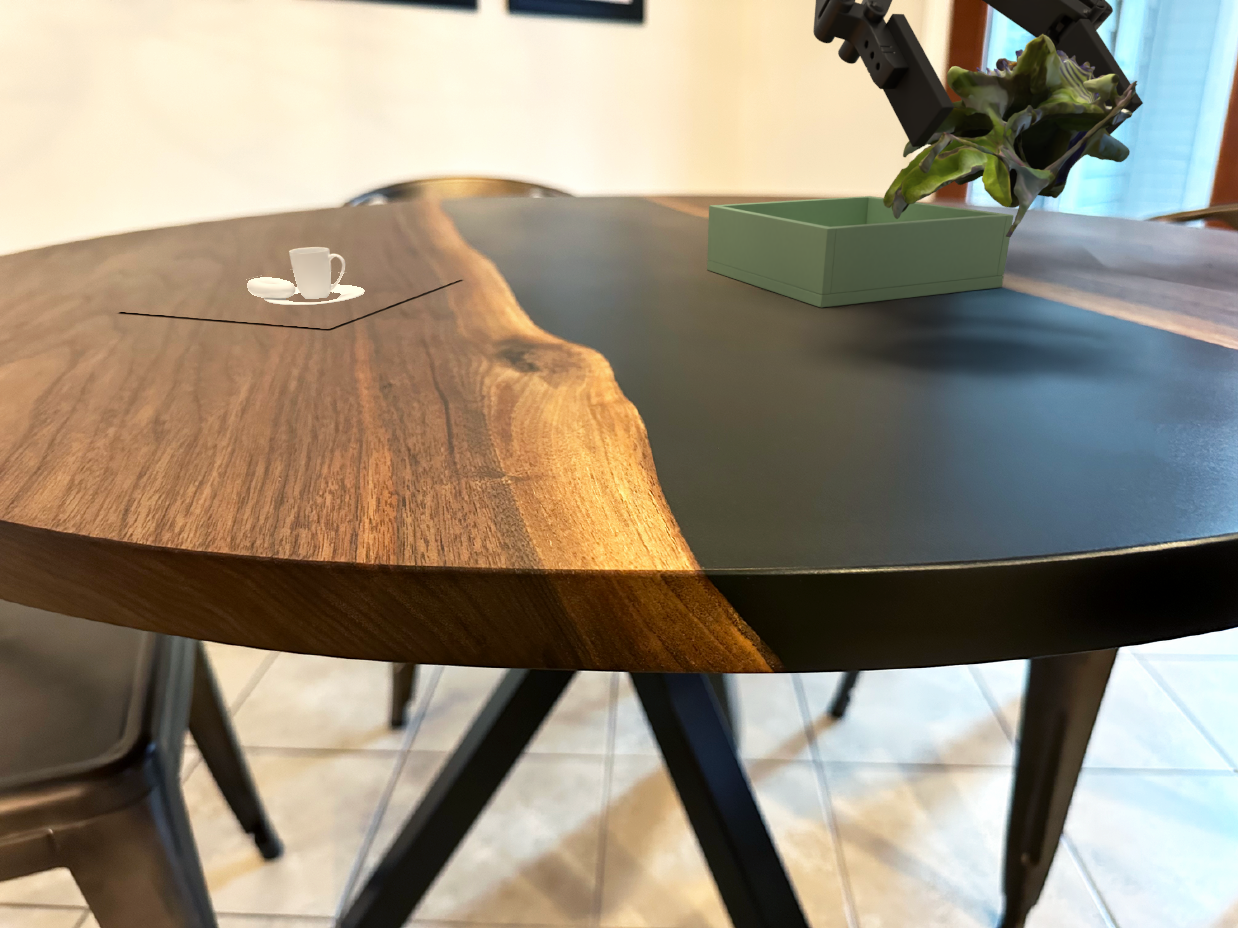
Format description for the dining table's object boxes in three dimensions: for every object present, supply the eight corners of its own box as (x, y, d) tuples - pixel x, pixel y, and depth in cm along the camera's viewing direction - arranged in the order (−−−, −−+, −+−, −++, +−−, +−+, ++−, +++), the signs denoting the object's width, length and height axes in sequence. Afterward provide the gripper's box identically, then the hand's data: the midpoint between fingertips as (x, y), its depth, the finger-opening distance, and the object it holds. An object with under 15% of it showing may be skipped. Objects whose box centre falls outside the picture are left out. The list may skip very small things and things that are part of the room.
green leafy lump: (994, 293, 55) (1138, 129, 50) (1030, 314, 45) (1215, 111, 40) (855, 190, 55) (987, 18, 50) (860, 188, 45) (1025, -28, 40)
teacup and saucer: (235, 306, 68) (225, 255, 66) (299, 288, 75) (292, 241, 73) (326, 313, 65) (318, 260, 63) (384, 293, 72) (378, 245, 70)
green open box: (863, 255, 88) (870, 196, 85) (1002, 287, 72) (1014, 214, 69) (706, 269, 81) (708, 205, 79) (820, 307, 65) (827, 228, 63)
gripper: (992, -67, 60) (1136, 164, 54) (683, -89, 52) (808, 183, 45) (1069, -179, 54) (1244, 68, 47) (730, -226, 45) (884, 69, 38)
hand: (1031, 125), depth 46 cm, fingers closed on green leafy lump, 13 cm apart
